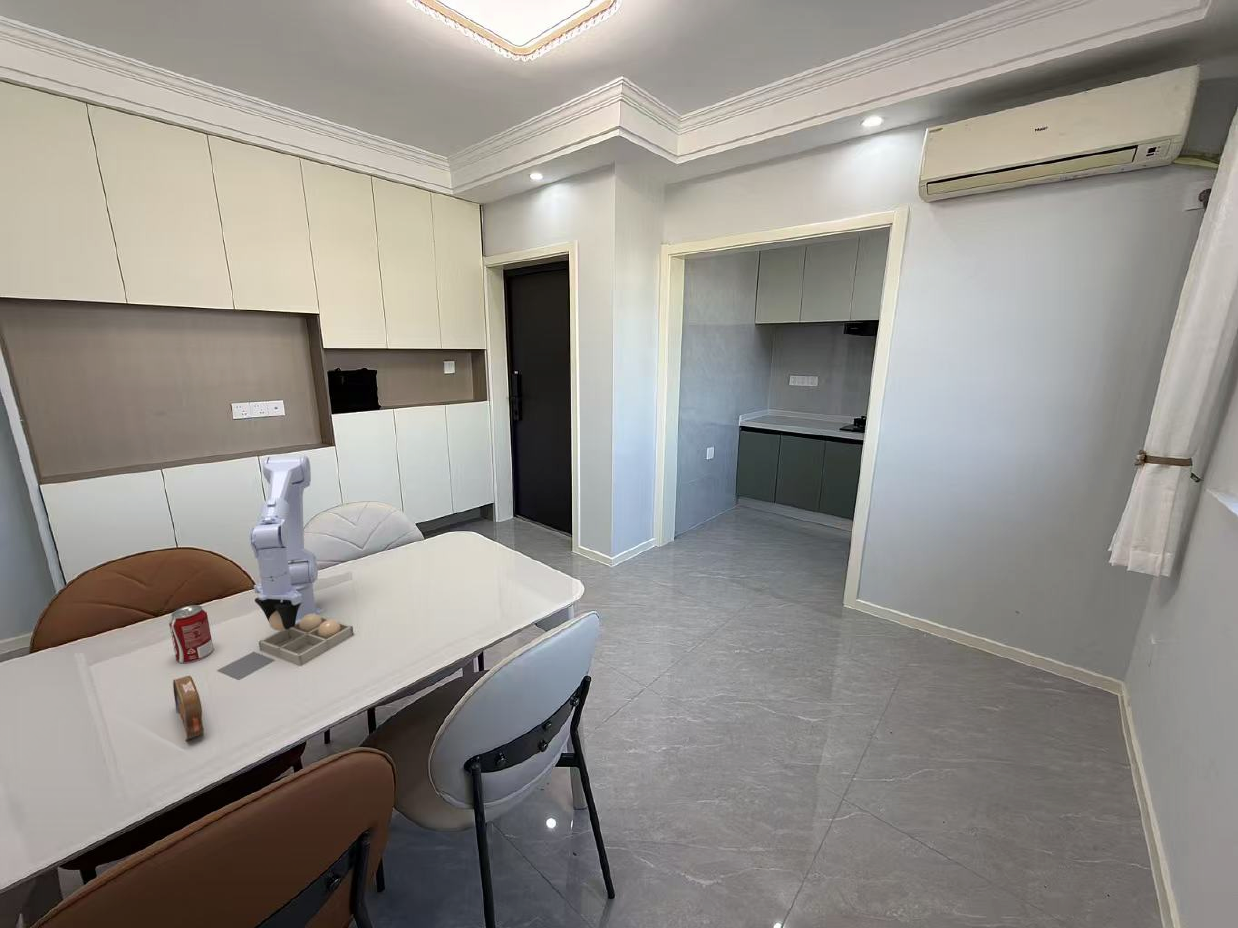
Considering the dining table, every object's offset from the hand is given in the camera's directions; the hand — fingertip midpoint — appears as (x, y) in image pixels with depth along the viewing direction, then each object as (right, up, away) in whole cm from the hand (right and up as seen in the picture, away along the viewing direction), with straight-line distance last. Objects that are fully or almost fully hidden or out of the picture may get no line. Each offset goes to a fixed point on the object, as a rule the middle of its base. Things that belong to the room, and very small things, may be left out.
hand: (282, 624), depth 121 cm
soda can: (-19, -7, -3) cm, 20 cm away
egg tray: (+4, -6, +3) cm, 8 cm away
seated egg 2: (+9, -5, +5) cm, 11 cm away
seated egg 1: (+3, -4, +7) cm, 9 cm away
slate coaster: (-4, -8, -6) cm, 11 cm away
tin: (-2, -12, -23) cm, 26 cm away
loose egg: (0, -1, 0) cm, 1 cm away
